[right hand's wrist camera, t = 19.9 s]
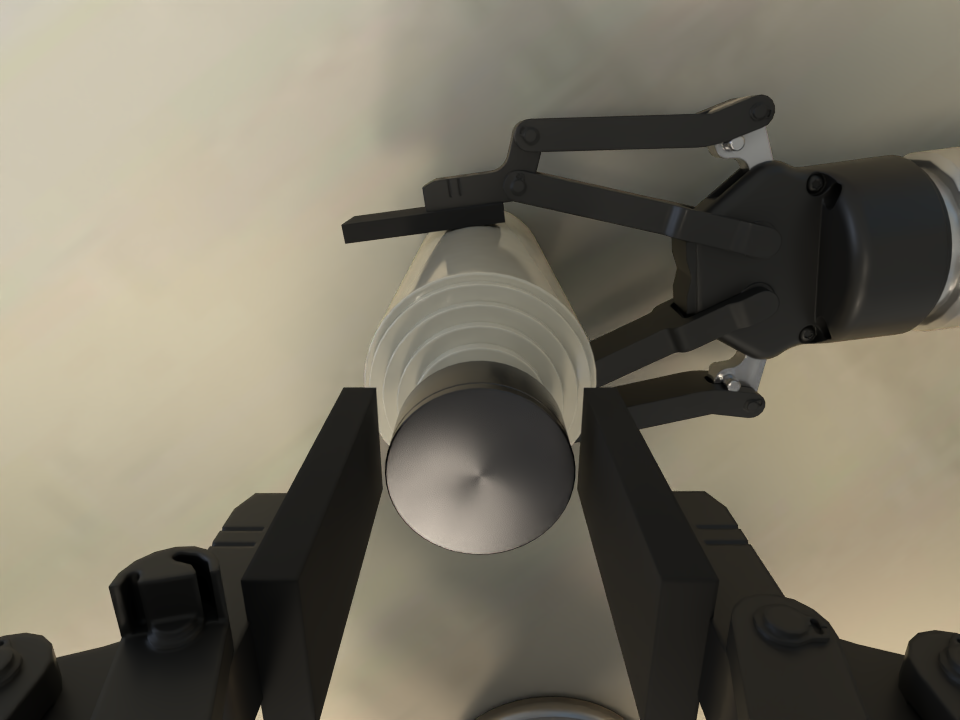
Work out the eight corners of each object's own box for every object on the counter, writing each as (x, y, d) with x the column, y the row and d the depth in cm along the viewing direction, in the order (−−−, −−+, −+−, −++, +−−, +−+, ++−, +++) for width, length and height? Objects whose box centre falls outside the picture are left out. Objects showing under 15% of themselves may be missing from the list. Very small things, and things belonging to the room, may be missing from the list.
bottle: (400, 226, 32) (280, 367, 13) (524, 189, 31) (595, 278, 12) (439, 343, 34) (387, 612, 15) (556, 311, 33) (657, 549, 14)
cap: (506, 538, 16) (509, 582, 14) (364, 464, 15) (351, 503, 13) (599, 414, 14) (613, 448, 13) (450, 327, 14) (446, 352, 12)
